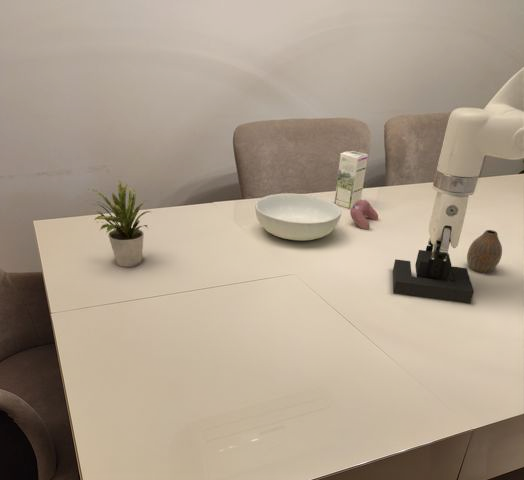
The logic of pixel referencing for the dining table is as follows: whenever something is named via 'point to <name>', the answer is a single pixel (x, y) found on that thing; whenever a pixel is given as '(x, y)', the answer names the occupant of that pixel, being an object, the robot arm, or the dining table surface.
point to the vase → (485, 252)
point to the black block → (423, 262)
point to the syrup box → (350, 178)
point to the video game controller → (363, 213)
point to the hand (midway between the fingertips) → (431, 270)
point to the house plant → (124, 228)
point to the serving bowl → (297, 216)
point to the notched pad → (432, 284)
